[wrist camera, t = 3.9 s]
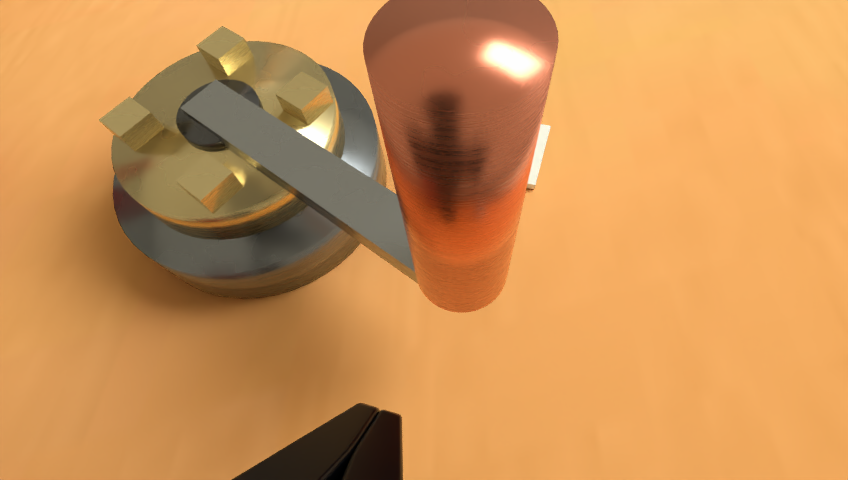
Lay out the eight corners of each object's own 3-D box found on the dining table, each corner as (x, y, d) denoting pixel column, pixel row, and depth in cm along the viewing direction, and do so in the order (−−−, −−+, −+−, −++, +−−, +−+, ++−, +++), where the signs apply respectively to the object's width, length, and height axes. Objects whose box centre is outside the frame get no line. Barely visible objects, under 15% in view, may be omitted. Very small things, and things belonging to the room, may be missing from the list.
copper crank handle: (99, 168, 22) (-238, -114, 11) (250, 47, 25) (96, -262, 15) (411, 435, 16) (300, 354, 5) (562, 227, 19) (692, -95, 8)
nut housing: (227, 354, 21) (192, 337, 18) (112, 185, 26) (72, 152, 23) (436, 186, 24) (432, 150, 21) (298, 65, 29) (281, 24, 26)
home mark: (534, 189, 24) (535, 185, 23) (459, 173, 24) (459, 168, 24) (549, 130, 25) (550, 125, 25) (479, 117, 26) (479, 112, 26)
